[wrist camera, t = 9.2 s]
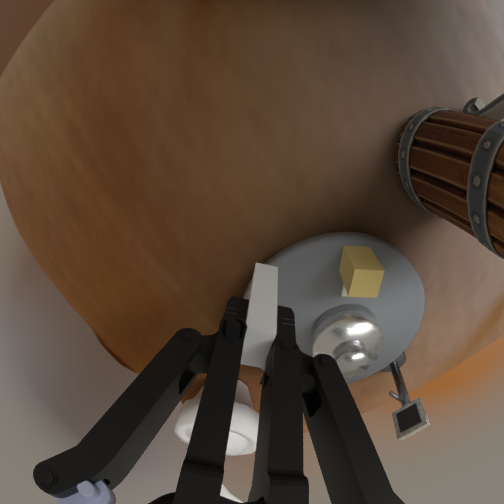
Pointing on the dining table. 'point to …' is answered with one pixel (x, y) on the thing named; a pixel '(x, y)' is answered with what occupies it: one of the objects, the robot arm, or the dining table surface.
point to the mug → (458, 167)
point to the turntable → (350, 288)
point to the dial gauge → (406, 404)
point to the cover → (348, 338)
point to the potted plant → (240, 428)
